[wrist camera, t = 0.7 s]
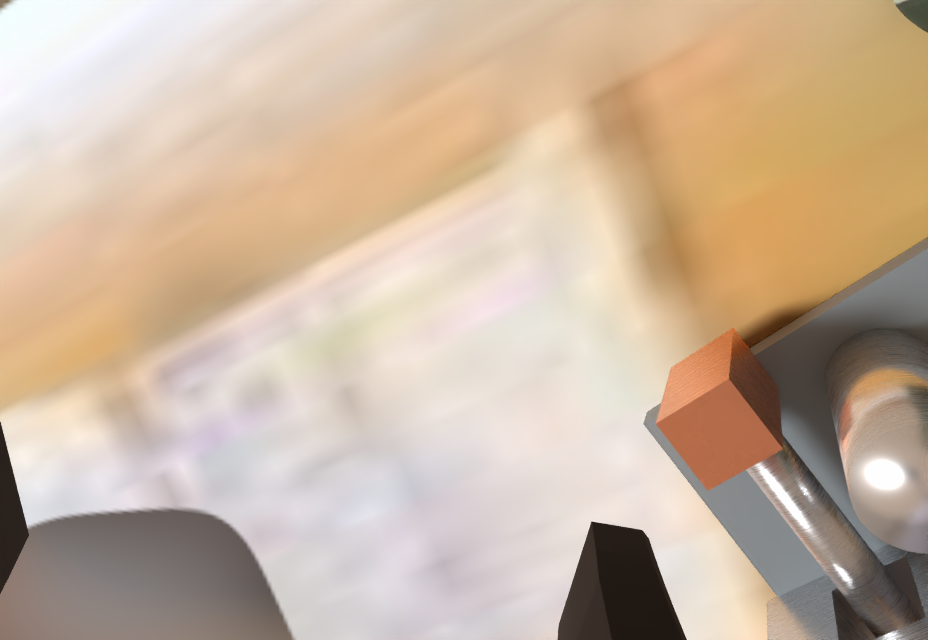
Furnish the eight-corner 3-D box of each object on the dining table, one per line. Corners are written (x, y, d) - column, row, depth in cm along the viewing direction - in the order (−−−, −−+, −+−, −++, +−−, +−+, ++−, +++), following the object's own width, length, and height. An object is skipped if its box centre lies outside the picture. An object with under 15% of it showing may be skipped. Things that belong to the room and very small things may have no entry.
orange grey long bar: (991, 663, 25) (1035, 776, 21) (921, 690, 26) (950, 803, 22) (733, 327, 25) (729, 378, 21) (671, 367, 26) (655, 423, 22)
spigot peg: (964, 392, 24) (1040, 513, 17) (865, 445, 25) (902, 576, 19) (899, 307, 24) (952, 397, 17) (803, 364, 25) (819, 468, 19)
